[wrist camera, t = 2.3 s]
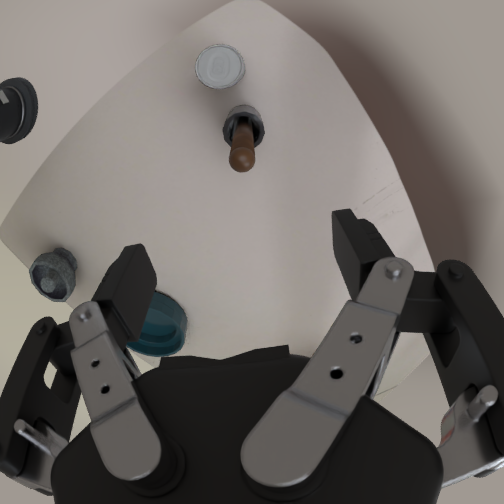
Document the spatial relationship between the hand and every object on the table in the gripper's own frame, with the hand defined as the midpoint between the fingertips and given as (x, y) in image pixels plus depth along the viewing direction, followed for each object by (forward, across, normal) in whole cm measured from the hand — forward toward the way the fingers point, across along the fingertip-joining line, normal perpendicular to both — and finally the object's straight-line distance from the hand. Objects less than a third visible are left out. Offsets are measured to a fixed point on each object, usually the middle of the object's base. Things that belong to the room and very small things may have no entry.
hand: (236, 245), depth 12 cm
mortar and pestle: (+32, +39, +16) cm, 53 cm away
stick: (+31, 0, 0) cm, 31 cm away
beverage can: (+32, +1, -8) cm, 33 cm away
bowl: (+32, +26, +33) cm, 52 cm away
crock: (+32, 0, 0) cm, 32 cm away
